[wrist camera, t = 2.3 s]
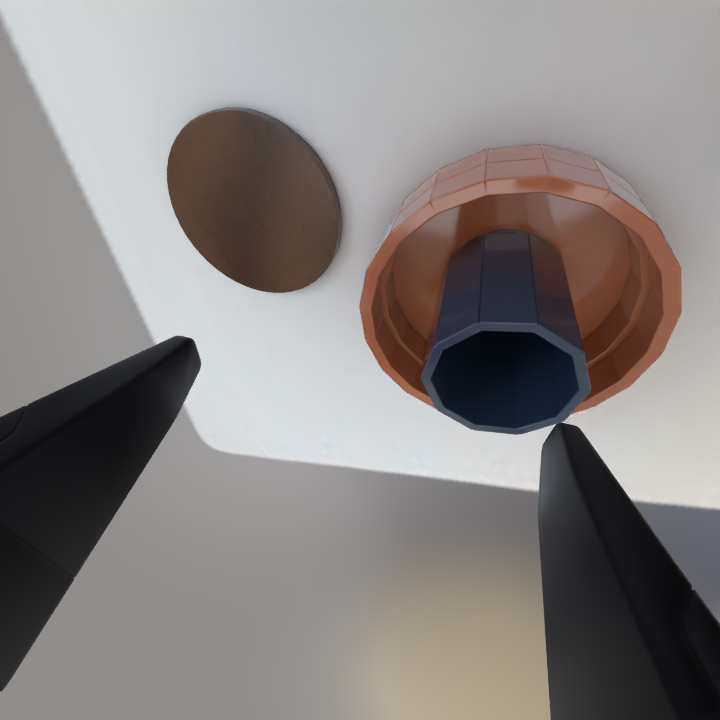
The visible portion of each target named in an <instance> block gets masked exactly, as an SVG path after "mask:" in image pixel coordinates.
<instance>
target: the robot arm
mask: <svg viewBox="0 0 720 720" xmlns="http://www.w3.org/2000/svg"><path fill="white" fill-rule="evenodd" d="M200 367H201V360H200V357H199V353H198V350H197V347H196V344H195V342H194V340H193V339H191V338H188V337H183V336H174V337H172V338H170V339H168V340H166V341H163V342H161V343H159V344H157V345H155V346H153V347H151V348H148V349H146V350H144V351H142V352H140V353H138V354H135V355H133V356H131V357H129V358H127V359H125V360H123V361H120V362H118V363H116V364H114V365H112V366H110V367H108V368H105V369H103V370H101V371H99V372H97V373H95V374H92V375H90V376H88V377H86V378H84V379H82V380H80V381H77V382H75V383H73V384H71V385H69V386H66V387H65V388H62V389H60V390H58V391H56V392H54V393H51V394H49V395H47V396H45V397H43V398H41V399H39V400H36V401H34V402H32V403H30V404H28V406H23V407H21V408H19V409H17V410H15V411H12V412H10V413H8V414H6V415H4V416H1V417H0V691H2V690H3V689H4V688H5V687H6V685H7V684H8V683H9V681H10V680H11V678H12V677H13V675H14V673H15V672H16V670H17V669H18V667H19V666H20V664H21V662H22V661H23V659H24V657H25V656H26V654H27V653H28V651H29V650H30V648H31V647H32V645H33V643H34V642H35V640H36V638H37V637H38V636H39V634H40V632H41V631H42V629H43V628H44V626H45V624H46V623H47V621H48V620H49V618H50V616H51V615H52V614H53V612H54V610H55V608H56V607H57V606H58V604H59V602H60V601H61V599H62V598H63V596H64V595H65V593H66V591H67V590H68V588H69V587H70V585H71V584H72V582H73V580H74V577H76V575H77V574H78V572H79V571H80V569H81V567H82V566H83V564H84V563H85V561H86V559H87V558H88V556H89V555H90V553H91V551H92V550H93V548H94V547H95V545H96V544H97V542H98V540H99V539H100V537H101V536H102V534H103V533H104V531H105V530H106V528H107V526H108V525H109V523H110V522H111V520H112V518H113V517H114V515H115V514H116V512H117V511H118V509H119V507H120V506H121V504H122V503H123V501H124V500H125V498H126V496H127V495H128V493H129V492H130V490H131V489H132V487H133V485H134V484H135V482H136V481H137V479H138V477H139V476H140V474H141V473H142V471H143V470H144V468H145V466H146V465H147V463H148V462H149V460H150V458H151V457H152V455H153V454H154V452H155V451H156V449H157V448H158V446H159V444H160V443H161V441H162V440H163V438H164V436H165V435H166V433H167V432H168V430H169V429H170V427H171V425H172V424H173V422H174V420H175V418H176V417H177V415H178V413H179V411H180V409H181V407H182V405H183V403H184V401H185V399H186V397H187V395H188V393H189V391H190V389H191V387H192V385H193V383H194V381H195V379H196V377H197V375H198V373H199V370H200ZM538 524H539V525H538V527H539V541H540V556H541V557H540V558H541V573H542V589H543V605H544V620H545V635H546V651H547V667H548V681H549V682H548V683H549V698H550V712H551V720H720V623H719V622H718V621H717V619H716V618H715V616H714V615H713V614H712V613H711V611H710V610H709V608H708V607H707V606H706V604H705V603H704V601H703V600H702V598H701V597H700V596H699V594H698V593H697V592H696V591H695V590H693V589H692V585H691V584H690V582H689V581H688V579H687V578H686V577H685V575H684V574H683V572H682V571H681V569H680V568H679V567H678V565H677V564H676V562H675V561H674V560H673V558H672V557H671V555H670V554H669V553H668V551H667V550H666V548H665V547H664V546H663V544H662V543H661V541H660V540H659V539H658V537H657V536H656V535H655V533H654V532H653V530H652V529H651V527H650V526H649V524H648V523H647V522H646V520H645V519H644V517H643V516H642V515H641V513H640V512H639V510H638V509H637V508H636V506H635V505H634V503H633V502H632V501H631V499H630V498H629V496H628V495H627V494H626V492H625V491H624V489H623V488H622V487H621V485H620V484H619V482H618V481H617V480H616V478H615V477H614V475H613V474H612V473H611V471H610V470H609V468H608V467H607V466H606V464H605V463H604V461H603V460H602V459H601V457H600V456H599V454H598V453H597V452H596V450H595V449H594V447H593V446H592V445H591V443H590V442H589V440H588V439H587V438H586V436H585V435H584V433H583V432H582V431H581V429H580V428H578V427H577V426H574V425H570V424H566V423H558V424H556V426H555V427H554V428H553V430H552V431H551V433H550V434H549V436H548V437H547V439H546V440H545V442H544V444H543V447H542V452H541V468H540V484H539V502H538Z"/></svg>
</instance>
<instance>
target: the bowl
mask: <svg viewBox="0 0 720 720" xmlns="http://www.w3.org/2000/svg"><path fill="white" fill-rule="evenodd" d="M497 230H520V231H525V232H528V233H531V234H534V235H536V236H538V237H540V238H542V239H544V240H545V241H547V242H548V243H549V244H550V245H551V246H552V247H553V248H554V249H555V250H556V251H557V252H558V253H560V254H561V256H562V259H563V263H564V267H565V272H566V276H567V280H568V285H569V289H570V293H571V297H572V302H573V306H574V310H575V314H576V319H577V323H578V327H579V331H580V336H581V340H582V344H583V348H584V353H585V358H586V364H587V369H588V374H589V380H590V385H591V390H590V393H589V394H588V395H587V396H586V397H585V398H584V400H583V401H582V402H581V403H580V404H579V405H578V406H577V407H576V408H575V410H574V411H573V412H572V413H575V412H579V411H582V410H585V409H588V408H592V407H594V406H596V405H598V404H600V403H601V402H603V401H605V400H607V399H608V398H610V397H612V396H614V395H615V394H617V393H619V392H620V391H622V390H624V389H626V388H627V387H629V386H631V385H632V384H633V383H634V382H635V381H636V380H637V379H638V378H639V377H640V376H641V375H642V374H643V373H644V372H645V371H646V370H647V369H648V368H649V367H650V366H651V365H652V364H653V363H654V362H655V361H656V360H657V359H658V358H659V357H660V356H661V354H662V353H663V351H664V349H665V347H666V345H667V343H668V340H669V338H670V336H671V334H672V332H673V330H674V327H675V325H676V323H677V321H678V319H679V317H680V314H681V267H680V264H679V262H678V260H677V259H676V257H675V255H674V253H673V251H672V249H671V248H670V246H669V244H668V242H667V240H666V238H665V237H664V235H663V233H662V231H661V229H660V227H659V226H658V224H657V222H656V221H655V220H654V218H653V217H652V215H651V214H650V212H649V211H648V209H647V208H646V206H645V205H644V203H643V202H642V200H641V199H640V197H639V196H638V194H637V193H636V191H635V190H634V189H633V187H632V186H631V185H630V184H629V183H628V182H626V181H625V180H624V179H622V178H621V177H619V176H618V175H617V174H615V173H614V172H613V171H611V170H610V169H608V168H607V167H606V166H604V165H603V164H602V163H600V162H599V161H597V160H596V159H595V158H593V157H591V156H587V155H583V154H579V153H575V152H571V151H567V150H563V149H559V148H555V147H551V146H547V145H543V144H542V145H540V144H536V145H525V146H514V147H504V148H493V149H488V150H484V151H481V152H479V153H477V154H474V155H472V156H470V157H467V158H465V159H462V160H460V161H458V162H455V163H453V164H451V165H448V166H446V167H444V168H441V169H440V170H439V171H437V172H436V173H435V174H434V175H433V176H431V177H430V178H429V179H428V180H427V181H426V182H424V183H423V184H422V185H421V186H420V187H419V188H417V189H416V190H415V191H414V192H413V193H411V194H410V195H409V196H408V197H407V198H406V199H405V200H404V201H403V203H402V205H401V206H400V208H399V209H398V211H397V213H396V214H395V216H394V218H393V219H392V221H391V223H390V224H389V226H388V228H387V229H386V231H385V233H384V235H383V237H382V239H381V241H380V243H379V245H378V247H377V249H376V251H375V253H374V255H373V257H372V260H371V262H370V264H369V266H368V268H367V270H366V275H365V280H364V285H363V290H362V295H361V301H360V313H361V318H362V324H363V329H364V335H365V340H366V342H367V344H368V346H369V347H370V349H371V351H372V353H373V354H374V356H375V358H376V360H377V361H378V363H379V365H380V367H381V368H382V370H383V371H384V372H385V373H386V374H388V375H389V376H390V377H391V378H392V379H393V380H394V381H395V382H396V383H397V384H398V385H399V386H400V387H401V388H402V389H403V390H404V391H405V392H407V393H409V394H410V395H412V396H414V397H416V398H418V399H419V400H421V401H423V402H425V403H427V404H428V405H430V406H432V407H434V408H435V406H434V404H433V402H432V400H431V398H430V396H429V394H428V392H427V390H426V388H425V386H424V384H423V382H422V380H421V375H422V370H423V365H424V360H425V355H426V350H427V345H428V340H429V335H430V331H431V326H432V321H433V316H434V311H435V306H436V301H437V296H438V291H439V287H440V284H441V281H442V278H443V275H444V272H445V268H446V266H447V264H448V262H449V259H450V257H451V256H452V255H454V253H455V252H456V251H457V250H458V249H459V248H460V247H461V246H463V245H464V244H465V243H467V242H468V241H470V240H471V239H473V238H475V237H477V236H480V235H482V234H485V233H488V232H492V231H497ZM435 409H436V408H435ZM572 413H571V414H572Z"/></svg>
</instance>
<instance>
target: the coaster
mask: <svg viewBox="0 0 720 720" xmlns="http://www.w3.org/2000/svg"><path fill="white" fill-rule="evenodd" d="M167 183H168V190H169V195H170V199H171V203H172V206H173V209H174V212H175V215H176V217H177V219H178V221H179V223H180V225H181V227H182V229H183V231H184V232H185V234H186V236H187V237H188V239H189V240H190V241H191V243H192V244H193V246H194V247H195V248H196V249H197V250H198V251H199V253H200V254H201V255H202V256H203V257H204V258H205V259H206V260H207V261H208V262H209V263H210V264H211V265H213V266H214V267H215V268H216V269H217V270H219V271H220V272H222V273H223V274H224V275H226V276H227V277H229V278H231V279H232V280H234V281H236V282H238V283H240V284H242V285H245V286H247V287H250V288H253V289H256V290H260V291H265V292H273V293H283V292H291V291H295V290H298V289H301V288H304V287H306V286H308V285H310V284H311V283H313V282H314V281H316V280H317V279H318V278H319V277H320V276H321V275H322V274H323V273H324V272H325V271H326V269H327V268H328V267H329V265H330V263H331V262H332V260H333V258H334V256H335V254H336V251H337V248H338V246H339V241H340V236H341V211H340V206H339V201H338V197H337V194H336V191H335V188H334V185H333V183H332V180H331V178H330V176H329V174H328V172H327V170H326V169H325V167H324V165H323V164H322V162H321V160H320V159H319V158H318V156H317V155H316V154H315V152H314V151H313V150H312V148H311V147H310V146H309V145H308V144H307V143H306V142H305V141H304V140H303V139H302V138H301V137H300V136H299V135H297V134H296V133H295V132H294V131H293V130H292V129H290V128H289V127H287V126H286V125H284V124H283V123H281V122H280V121H278V120H276V119H274V118H272V117H270V116H268V115H266V114H263V113H260V112H257V111H254V110H250V109H245V108H230V107H227V108H221V109H215V110H213V111H210V112H207V113H205V114H202V115H200V116H198V117H197V118H195V119H193V120H192V121H190V122H189V123H188V124H187V125H186V126H185V127H184V128H183V129H182V130H181V132H180V133H179V134H178V136H177V137H176V139H175V141H174V143H173V145H172V148H171V151H170V155H169V158H168V166H167Z"/></svg>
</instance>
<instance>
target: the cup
mask: <svg viewBox="0 0 720 720" xmlns="http://www.w3.org/2000/svg"><path fill="white" fill-rule="evenodd" d="M421 380H422V382H423V384H424V386H425V388H426V390H427V392H428V394H429V396H430V398H431V400H432V402H433V404H434V406H435V408H436V409H437V410H438V411H439V412H441V413H443V414H445V415H447V416H448V417H450V418H452V419H454V420H456V421H457V422H459V423H461V424H463V425H464V426H466V427H468V428H470V429H473V430H477V431H487V432H496V433H506V434H516V435H518V434H523V433H527V432H530V431H534V430H537V429H540V428H544V427H547V426H551V425H554V424H557V423H561V422H563V421H565V420H566V419H567V417H568V416H569V415H570V414H571V413H572V412H573V411H574V410H575V408H576V407H577V406H578V405H579V404H580V403H581V402H582V401H583V400H584V398H585V397H586V396H587V395H588V394H589V393H590V390H591V385H590V380H589V374H588V369H587V364H586V358H585V353H584V348H583V344H582V340H581V336H580V331H579V327H578V323H577V319H576V314H575V310H574V306H573V302H572V297H571V293H570V289H569V285H568V280H567V276H566V272H565V267H564V263H563V259H562V256H561V254H560V253H558V252H557V251H556V250H555V249H554V248H553V247H552V246H551V245H550V244H549V243H548V242H547V241H545V240H544V239H542V238H540V237H538V236H536V235H534V234H531V233H528V232H525V231H520V230H497V231H492V232H488V233H485V234H482V235H480V236H477V237H475V238H473V239H471V240H470V241H468V242H467V243H465V244H464V245H463V246H461V247H460V248H459V249H458V250H457V251H456V252H455V253H454V255H452V256H451V257H450V259H449V262H448V264H447V266H446V268H445V272H444V275H443V278H442V281H441V284H440V287H439V291H438V296H437V301H436V306H435V311H434V316H433V321H432V326H431V331H430V335H429V340H428V345H427V350H426V355H425V360H424V365H423V370H422V375H421Z"/></svg>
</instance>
